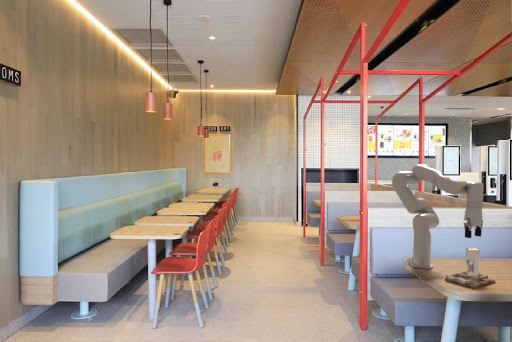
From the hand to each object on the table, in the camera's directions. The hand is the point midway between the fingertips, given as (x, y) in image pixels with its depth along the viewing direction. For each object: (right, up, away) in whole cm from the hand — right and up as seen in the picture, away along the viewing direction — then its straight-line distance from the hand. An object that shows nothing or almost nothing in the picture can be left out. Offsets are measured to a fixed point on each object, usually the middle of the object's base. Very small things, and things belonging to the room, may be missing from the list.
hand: (473, 236), depth 195 cm
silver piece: (0, -22, +1) cm, 22 cm away
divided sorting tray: (-4, -23, -3) cm, 23 cm away
